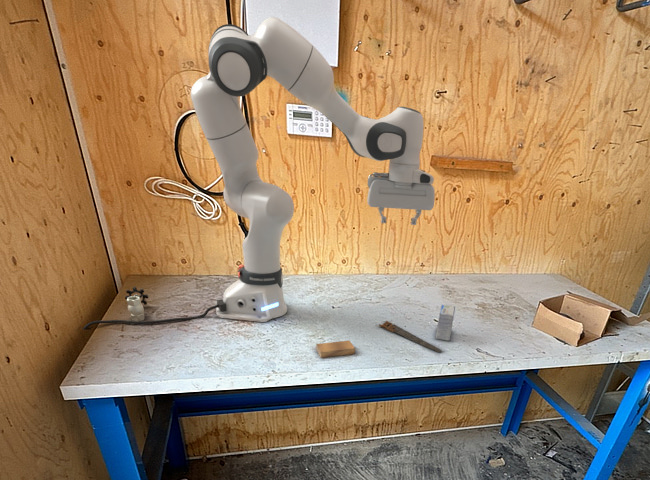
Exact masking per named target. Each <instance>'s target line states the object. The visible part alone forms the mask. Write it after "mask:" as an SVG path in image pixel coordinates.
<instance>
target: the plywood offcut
mask: <svg viewBox="0 0 650 480" xmlns="http://www.w3.org/2000/svg"><path fill="white" fill-rule="evenodd" d="M315 350H316V352H317V353H318V355H319V357H320V358H321V359H323V358H330V357H338V356H339V357H340V356H347V355H348V356H349V355H355V354H356V348H355V346H354V345H353V343H352V341H351V340H342V341H332V342H323V343H316V345H315Z"/></svg>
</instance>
